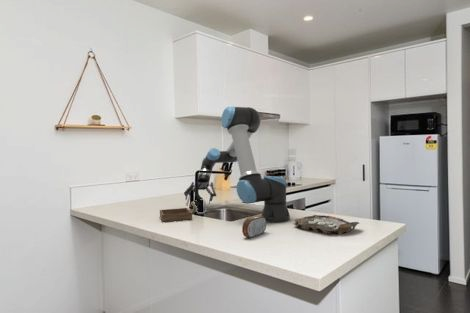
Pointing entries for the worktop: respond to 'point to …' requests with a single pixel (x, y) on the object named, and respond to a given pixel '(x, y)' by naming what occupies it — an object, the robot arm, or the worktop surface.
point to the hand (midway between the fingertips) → (197, 204)
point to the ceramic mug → (197, 208)
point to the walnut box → (175, 215)
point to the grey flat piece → (325, 224)
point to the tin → (254, 226)
